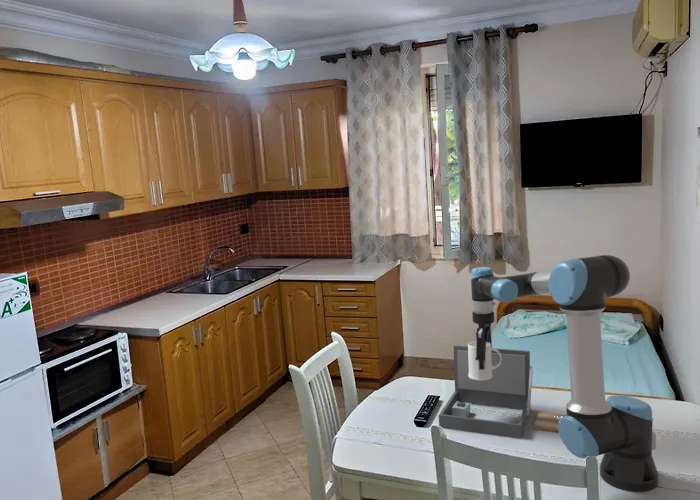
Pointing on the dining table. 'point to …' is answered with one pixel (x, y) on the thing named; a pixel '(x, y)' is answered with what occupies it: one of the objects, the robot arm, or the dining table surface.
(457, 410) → the block
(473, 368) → the mug
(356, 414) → the dining table surface
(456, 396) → the case
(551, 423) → the mat
